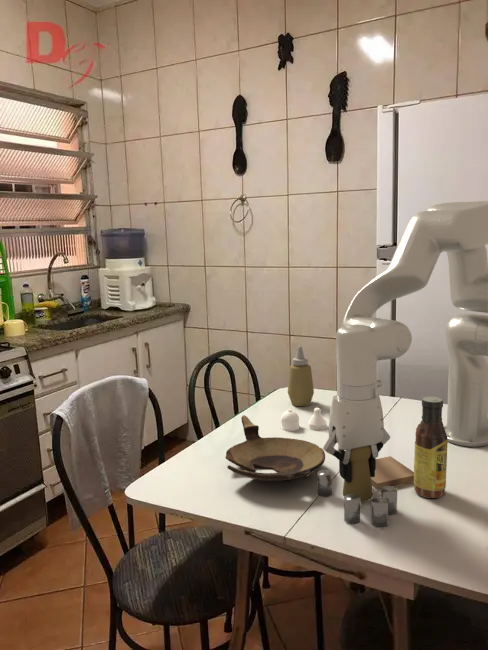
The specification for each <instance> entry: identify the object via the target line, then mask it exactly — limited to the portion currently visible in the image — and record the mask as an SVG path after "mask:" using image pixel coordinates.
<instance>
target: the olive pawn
mask: <svg viewBox="0 0 488 650" xmlns="http://www.w3.org/2000/svg"><path fill="white" fill-rule="evenodd" d="M370 455H371V449H370V446H369V445H368V446H364V447H359V448H354V449H351V453H350V458H349V463H350V464H351V471H352V481H351V482H350V483H348V482H346V481H345V480H344V479H343V487H342V496H343V497H344V496H345V495H348V494H355V495H358V496H359V497H360V498H361V502H362V503H363V502H368V501H370V500H372V499H373V498H374V491H373V490H374V488H373V486H372V482H371V476H370V469H369V462H368V459H369V458H370Z"/></svg>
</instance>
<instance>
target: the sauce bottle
mask: <svg viewBox="0 0 488 650" xmlns="http://www.w3.org/2000/svg"><path fill="white" fill-rule="evenodd" d="M421 406H422V409H421V411H422V413H421V414H422V415H421V421H420V422H419V423H418V424H417V427H416V429H415V441H414V458H413V472H414V482H413V484H414V485H413V488H414V491H415V493H416V494H417V495H418V496H421V497H423V498H427V499H437V498H441V497H443V496H444V495H445V493H446V487H447V469H448V468H447V466H448V465H447V463H448V461H447V460H448V444H449V443H448V438H447V435H446V432H445V429H444V426H445V425H444V424H443V417H442V416H443V414H442V413H443V407H444V400H443V399H442V398H441V397H438V396H424V397H422V399H421Z"/></svg>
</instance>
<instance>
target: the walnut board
mask: <svg viewBox="0 0 488 650" xmlns="http://www.w3.org/2000/svg"><path fill="white" fill-rule="evenodd" d="M371 482H372V488H373V489H375V490H376V491H381V488H382V487H384V486H392V487H396V486H397V487H398V486H401V485H406V484H410V483H414V470H411V469H410V468H408V467H407V466H406V465H404V464H403V463H401V462H400V461H398V460H397V459H395V458H394V457H393V456H391V455H390V456H386V457H385V456H384V457H381V458H376V470H375V477H371Z"/></svg>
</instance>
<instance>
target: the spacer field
mask: <svg viewBox="0 0 488 650" xmlns="http://www.w3.org/2000/svg"><path fill="white" fill-rule="evenodd" d="M317 495H318V496H320V497H323V498H328V497H332V495H333V472H332V471H331V470H328V469H321V470H318V471H317ZM343 500H344V501H343V502H344V503H343V506H344V507H343V515H344V517H343V519H344V522H345V523H346V524H349V525H358V524H360V523H361V509H362V508H361V504H362V503H361V498H360V497H359V496H358V495H355V494H348V495H345V496H343ZM370 500H371V506H370V507H371V510H370V511H371V512H370V513H371V515H370V516H371V518H370V519H371V520H370V522H371V526H373V527H374V528H377V529H383V528H387V527H388V525H389V516H395V515H397V514H398V488H397V487H396V486H393V487H392V486H384V487H382V488H381V489H380V496H379V497H377V496H376V497H372V498H371V499H370Z"/></svg>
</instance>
